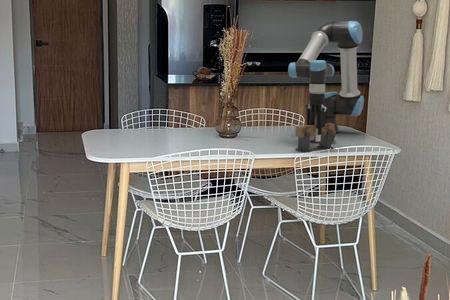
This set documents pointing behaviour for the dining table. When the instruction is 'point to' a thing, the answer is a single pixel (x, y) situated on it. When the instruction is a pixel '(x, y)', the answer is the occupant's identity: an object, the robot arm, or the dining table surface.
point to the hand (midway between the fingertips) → (314, 140)
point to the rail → (313, 130)
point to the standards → (324, 144)
